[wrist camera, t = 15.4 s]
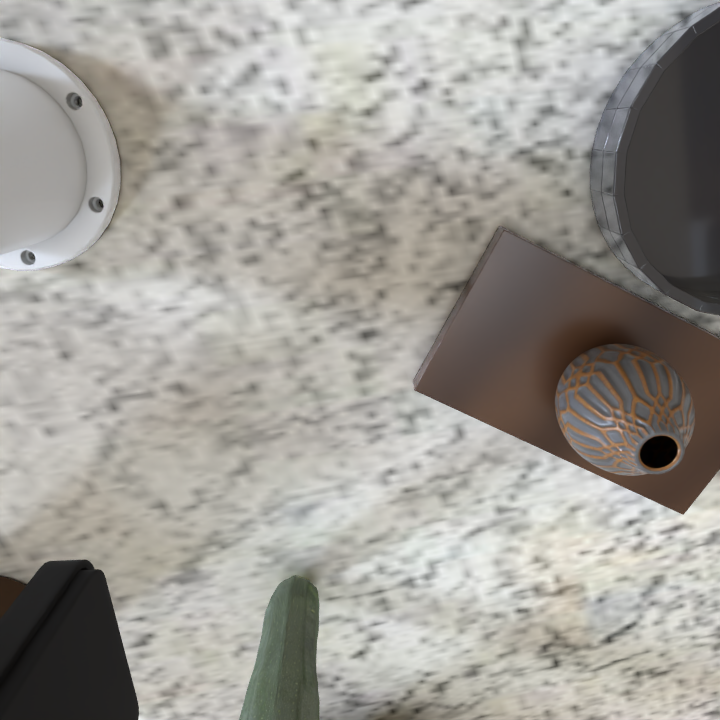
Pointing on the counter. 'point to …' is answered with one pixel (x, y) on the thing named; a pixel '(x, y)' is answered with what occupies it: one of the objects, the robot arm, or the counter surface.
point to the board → (565, 357)
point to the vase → (625, 410)
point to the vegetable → (286, 657)
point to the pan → (666, 164)
